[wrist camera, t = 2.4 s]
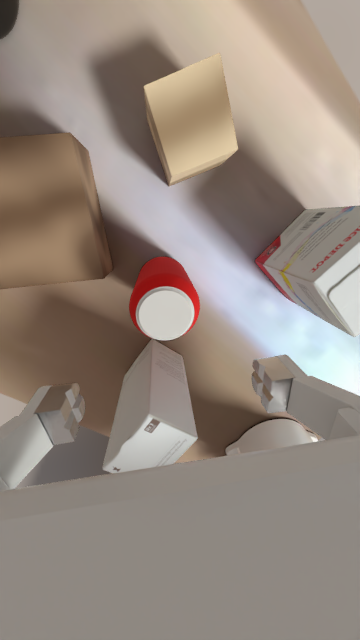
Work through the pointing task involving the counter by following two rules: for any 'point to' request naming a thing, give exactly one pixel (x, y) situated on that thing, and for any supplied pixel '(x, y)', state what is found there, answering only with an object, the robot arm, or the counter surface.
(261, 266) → the ink box
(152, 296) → the beverage can
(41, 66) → the counter surface
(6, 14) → the supplement bottle
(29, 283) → the walnut block
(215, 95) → the oak block
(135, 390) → the skincare box
